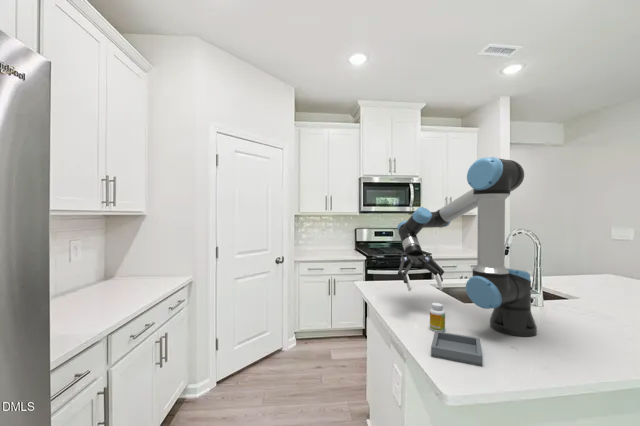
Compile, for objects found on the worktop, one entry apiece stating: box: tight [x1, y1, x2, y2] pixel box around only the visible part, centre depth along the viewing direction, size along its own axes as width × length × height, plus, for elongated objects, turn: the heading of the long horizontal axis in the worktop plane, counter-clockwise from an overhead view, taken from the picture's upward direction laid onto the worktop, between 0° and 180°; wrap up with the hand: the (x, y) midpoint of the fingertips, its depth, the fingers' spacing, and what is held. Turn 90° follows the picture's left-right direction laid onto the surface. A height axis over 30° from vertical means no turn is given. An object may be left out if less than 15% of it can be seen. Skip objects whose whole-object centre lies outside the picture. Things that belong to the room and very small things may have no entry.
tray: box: [430, 331, 483, 367], centre depth 95 cm, size 14×14×3 cm
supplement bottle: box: [429, 302, 446, 332], centre depth 113 cm, size 5×5×10 cm
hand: (426, 289), depth 122 cm, fingers open, 13 cm apart
